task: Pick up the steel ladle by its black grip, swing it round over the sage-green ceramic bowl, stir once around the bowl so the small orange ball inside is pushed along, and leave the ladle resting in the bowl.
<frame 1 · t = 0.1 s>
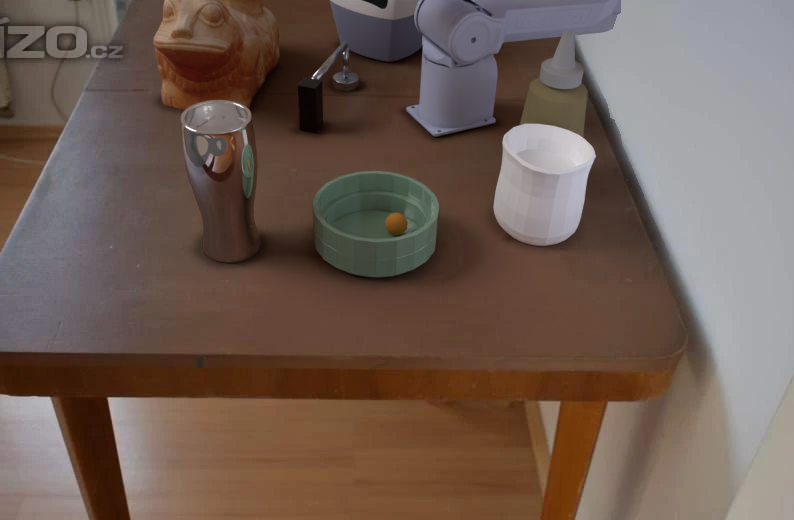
soup bowl: (375, 243, 90), on the table
orange ball: (396, 224, 90), point 2 cm above the table, touching soup bowl
cup: (534, 224, 94), on the table
squeeze bottle: (541, 181, 101), on the table
grey and white container: (383, 45, 128), on the table
ladle: (345, 85, 117), on the table
beer glass: (231, 247, 89), on the table
ceramic vessel: (221, 84, 116), on the table
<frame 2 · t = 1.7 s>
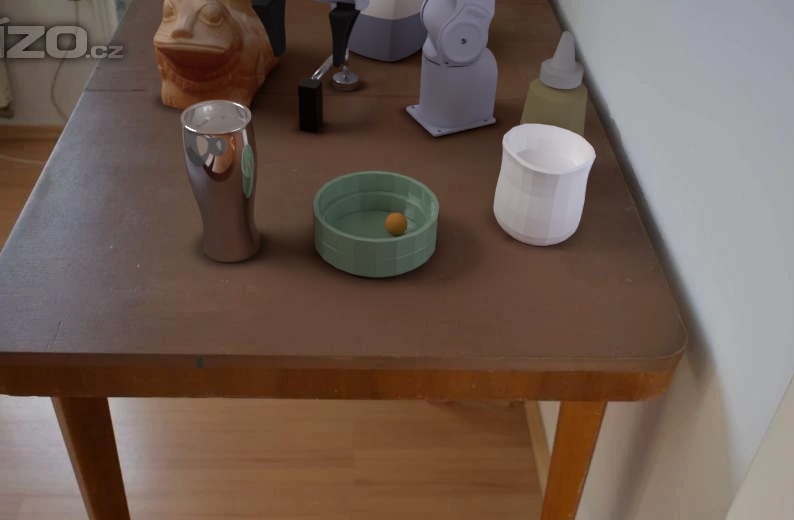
hand: (309, 59, 102), 9 cm above the table, tool pointing down, fingers open, 7 cm apart
nothing on the table moved.
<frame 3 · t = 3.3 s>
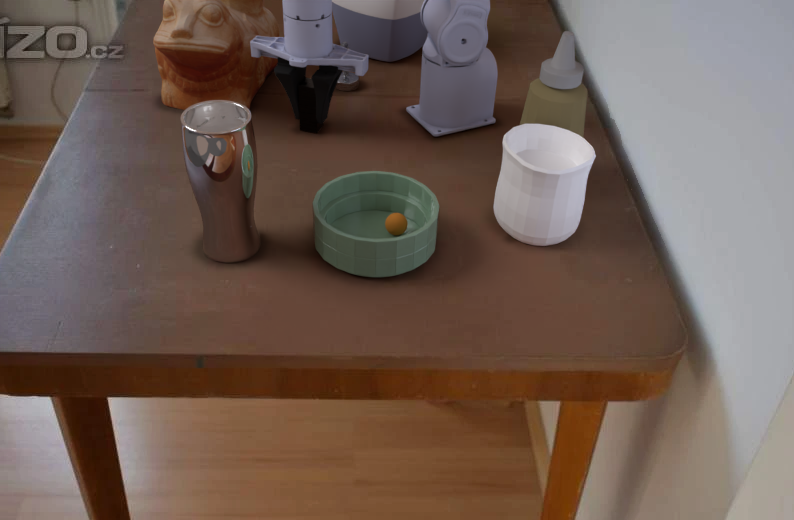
hand: (311, 118, 107), 1 cm above the table, tool pointing down, fingers closed on ladle, 2 cm apart
ladle: (346, 85, 117), on the table, touching gripper
everything else where it was.
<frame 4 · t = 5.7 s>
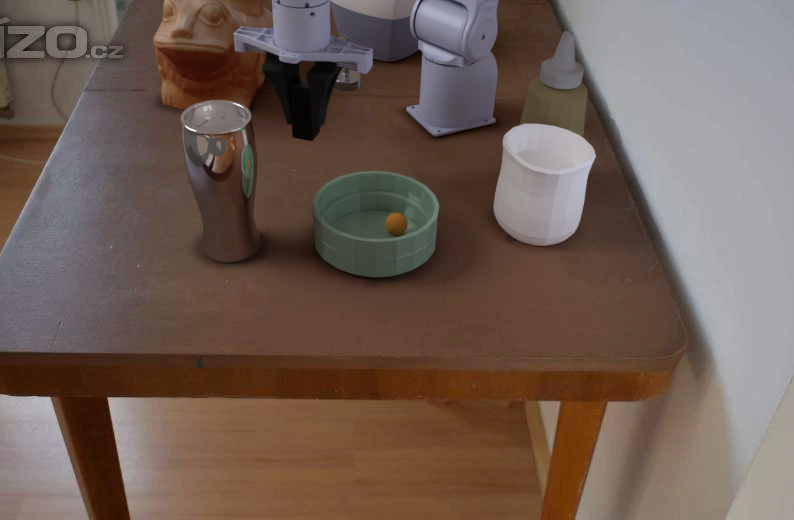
hand: (305, 123, 92), 8 cm above the table, tool pointing down, fingers closed on ladle, 2 cm apart
ladle: (346, 84, 102), point 7 cm above the table, touching gripper
everything else where it was.
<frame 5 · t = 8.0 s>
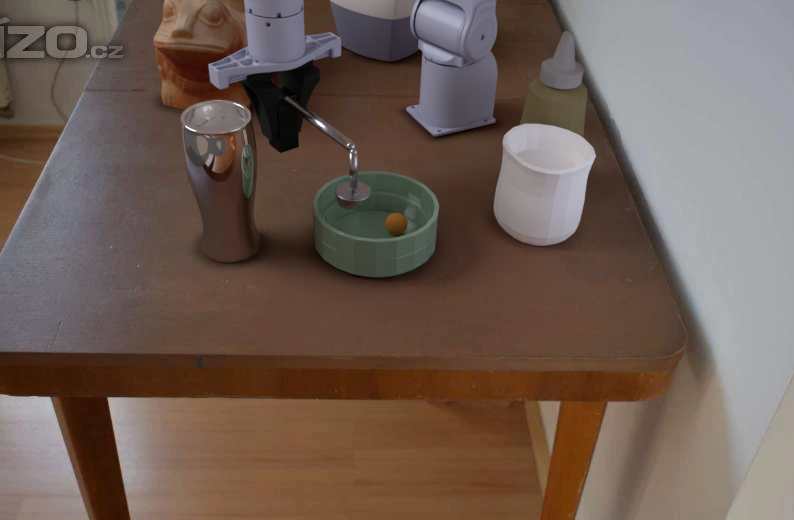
hand: (281, 132, 91), 8 cm above the table, tool pointing down, fingers closed on ladle, 2 cm apart
ladle: (353, 200, 84), point 6 cm above the table, touching gripper
everything else where it was.
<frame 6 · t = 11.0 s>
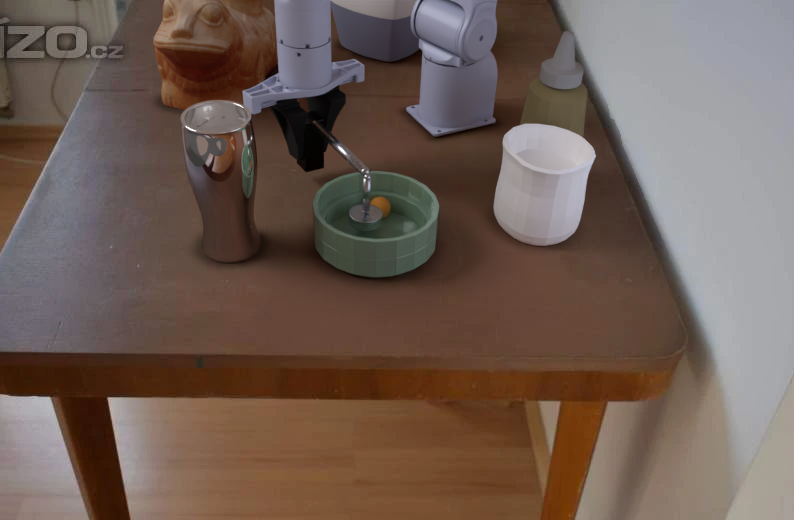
hand: (308, 152, 97), 3 cm above the table, tool pointing down, fingers closed on ladle, 2 cm apart
orange ball: (379, 207, 92), point 2 cm above the table, tilted 135°, touching soup bowl
ladle: (365, 222, 90), point 2 cm above the table, touching gripper
everything else where it was.
when the fingers open (2 cm above the table, at t = 12.6 s): ladle stays where it is, resting on soup bowl.
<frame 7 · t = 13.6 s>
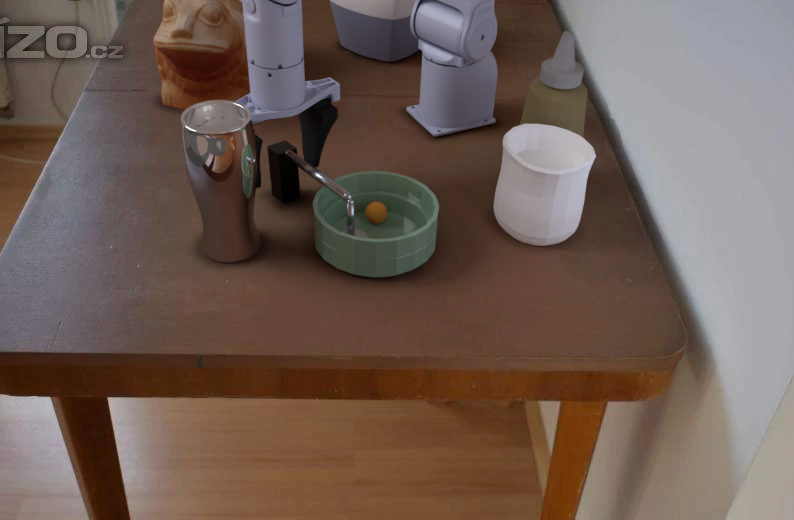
hand: (283, 173, 94), 3 cm above the table, tool pointing down, fingers open, 7 cm apart
orange ball: (376, 212, 91), point 2 cm above the table, tilted 87°, touching soup bowl
ladle: (351, 247, 88), point 1 cm above the table, touching soup bowl
everything else where it was.
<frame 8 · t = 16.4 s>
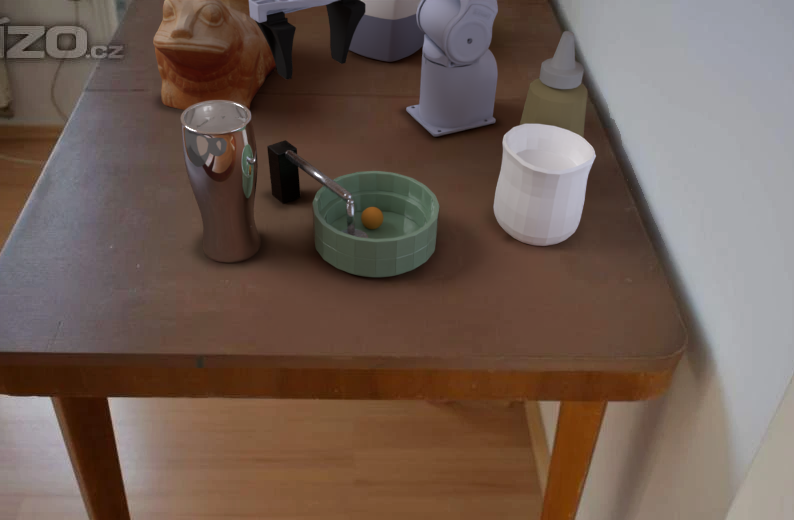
hand: (312, 68, 99), 9 cm above the table, tool pointing down, fingers open, 7 cm apart
orange ball: (372, 218, 90), point 2 cm above the table, tilted 36°, touching soup bowl
everything else where it was.
at the end: orange ball moved 2.8 cm from its start; ladle inside the target area in the soup bowl (3.0 cm from its centre), point 0.7 cm above the soup bowl's base; the gripper is holding nothing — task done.
